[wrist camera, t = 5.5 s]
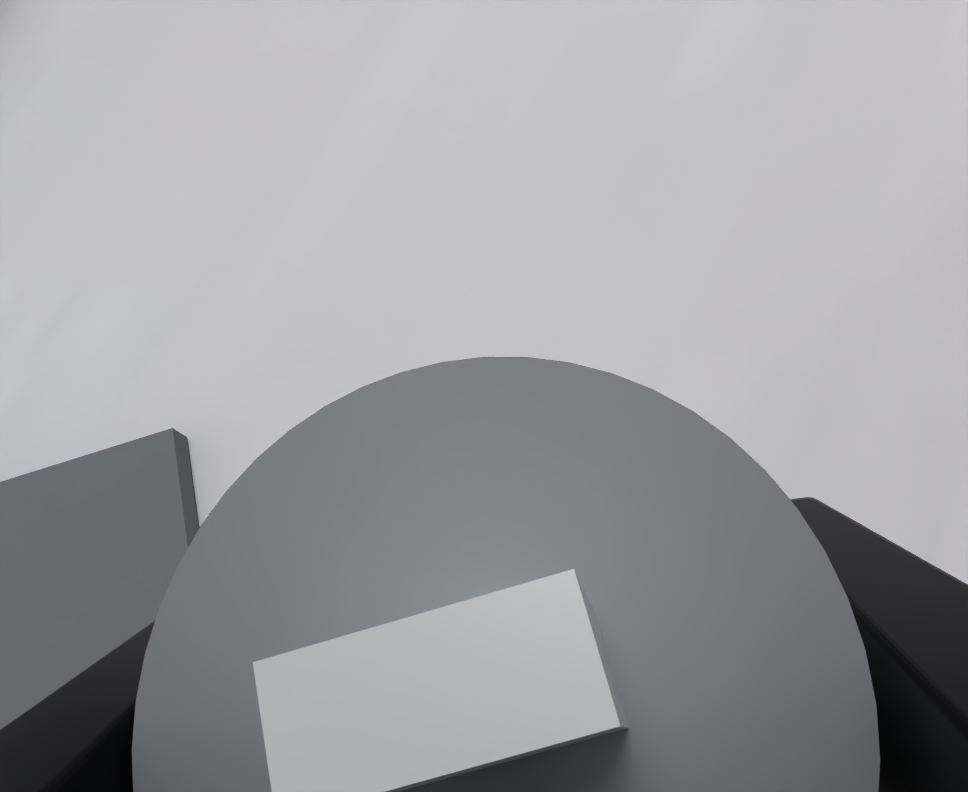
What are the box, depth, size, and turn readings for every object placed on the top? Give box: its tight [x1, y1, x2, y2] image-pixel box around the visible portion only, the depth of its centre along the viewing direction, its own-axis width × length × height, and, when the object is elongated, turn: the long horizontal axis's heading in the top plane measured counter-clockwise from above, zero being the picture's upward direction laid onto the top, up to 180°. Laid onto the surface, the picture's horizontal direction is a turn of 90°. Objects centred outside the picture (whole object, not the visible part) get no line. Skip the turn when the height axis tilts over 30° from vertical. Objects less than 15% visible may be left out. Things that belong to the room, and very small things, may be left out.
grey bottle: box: [132, 357, 880, 792], centre depth 10 cm, size 5×5×12 cm
